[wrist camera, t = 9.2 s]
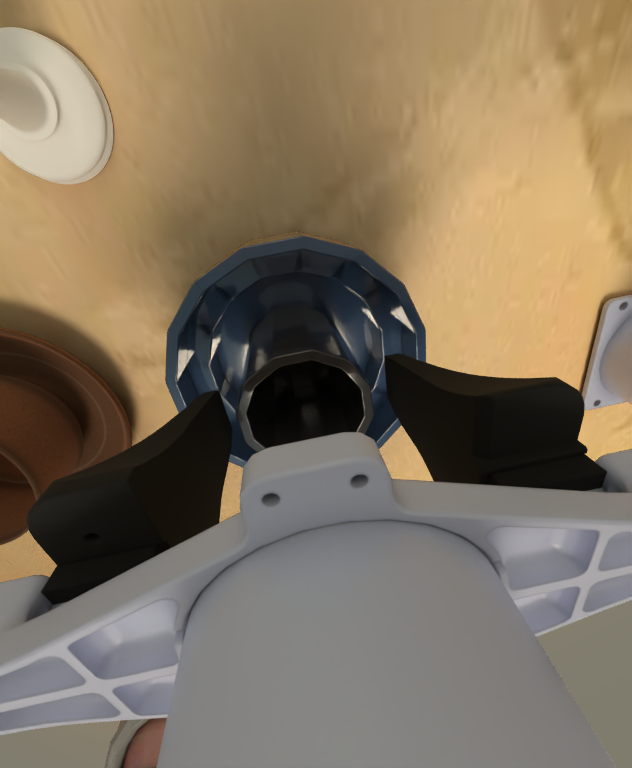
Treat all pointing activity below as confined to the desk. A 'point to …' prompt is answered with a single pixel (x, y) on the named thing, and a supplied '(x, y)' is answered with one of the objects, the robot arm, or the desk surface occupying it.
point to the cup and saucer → (49, 423)
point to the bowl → (280, 288)
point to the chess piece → (51, 110)
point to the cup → (300, 381)
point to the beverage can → (136, 744)
